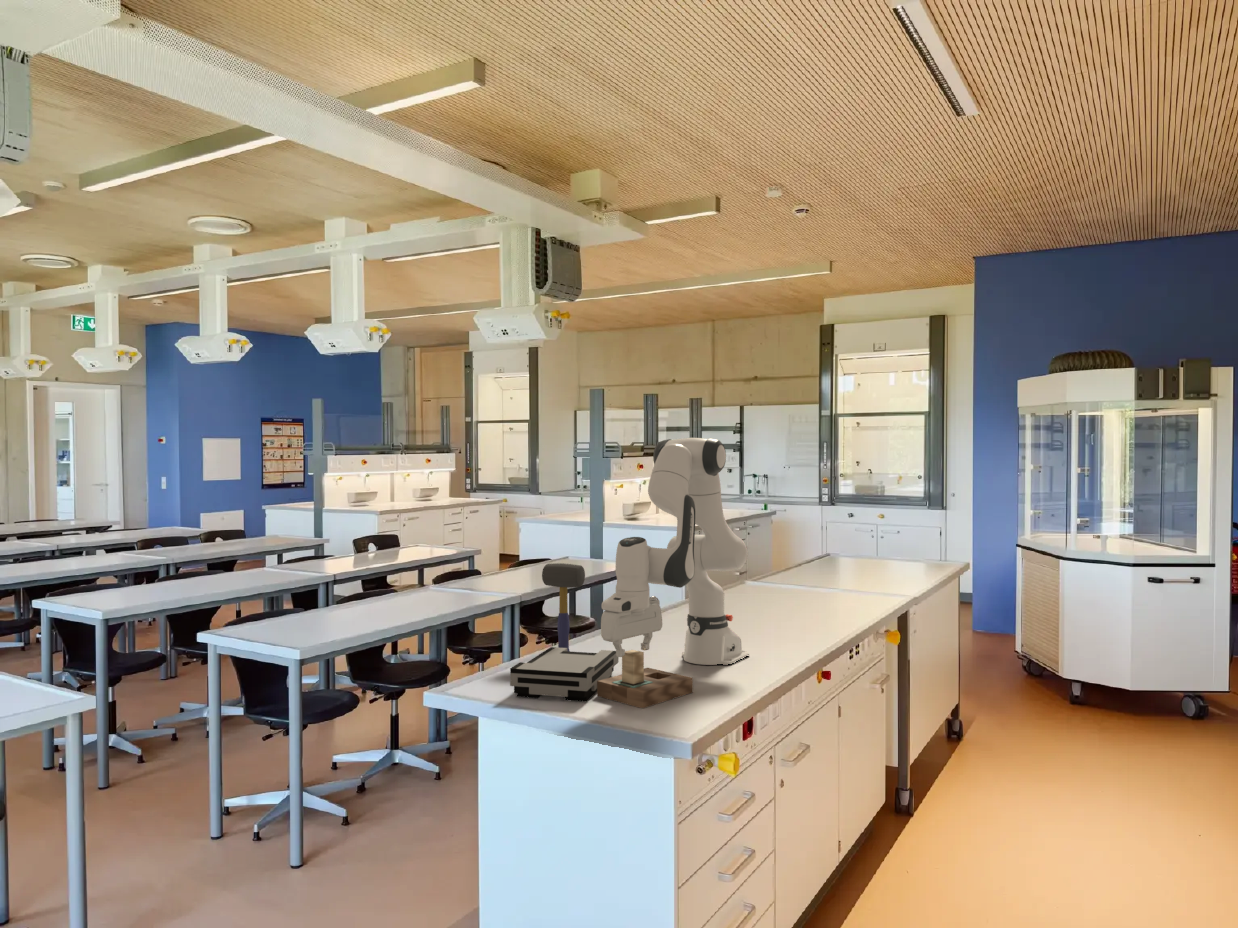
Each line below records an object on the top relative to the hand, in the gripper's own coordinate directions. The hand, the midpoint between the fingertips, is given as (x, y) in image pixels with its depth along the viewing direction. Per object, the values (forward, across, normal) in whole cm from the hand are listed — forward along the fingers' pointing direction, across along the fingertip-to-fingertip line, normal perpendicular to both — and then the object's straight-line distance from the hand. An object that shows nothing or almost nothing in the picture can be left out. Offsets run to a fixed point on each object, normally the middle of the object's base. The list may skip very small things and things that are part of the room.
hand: (633, 653), depth 217 cm
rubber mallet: (+12, -16, -45) cm, 49 cm away
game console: (+12, +4, -21) cm, 25 cm away
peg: (+12, 0, 0) cm, 12 cm away
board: (+12, -4, 0) cm, 13 cm away
